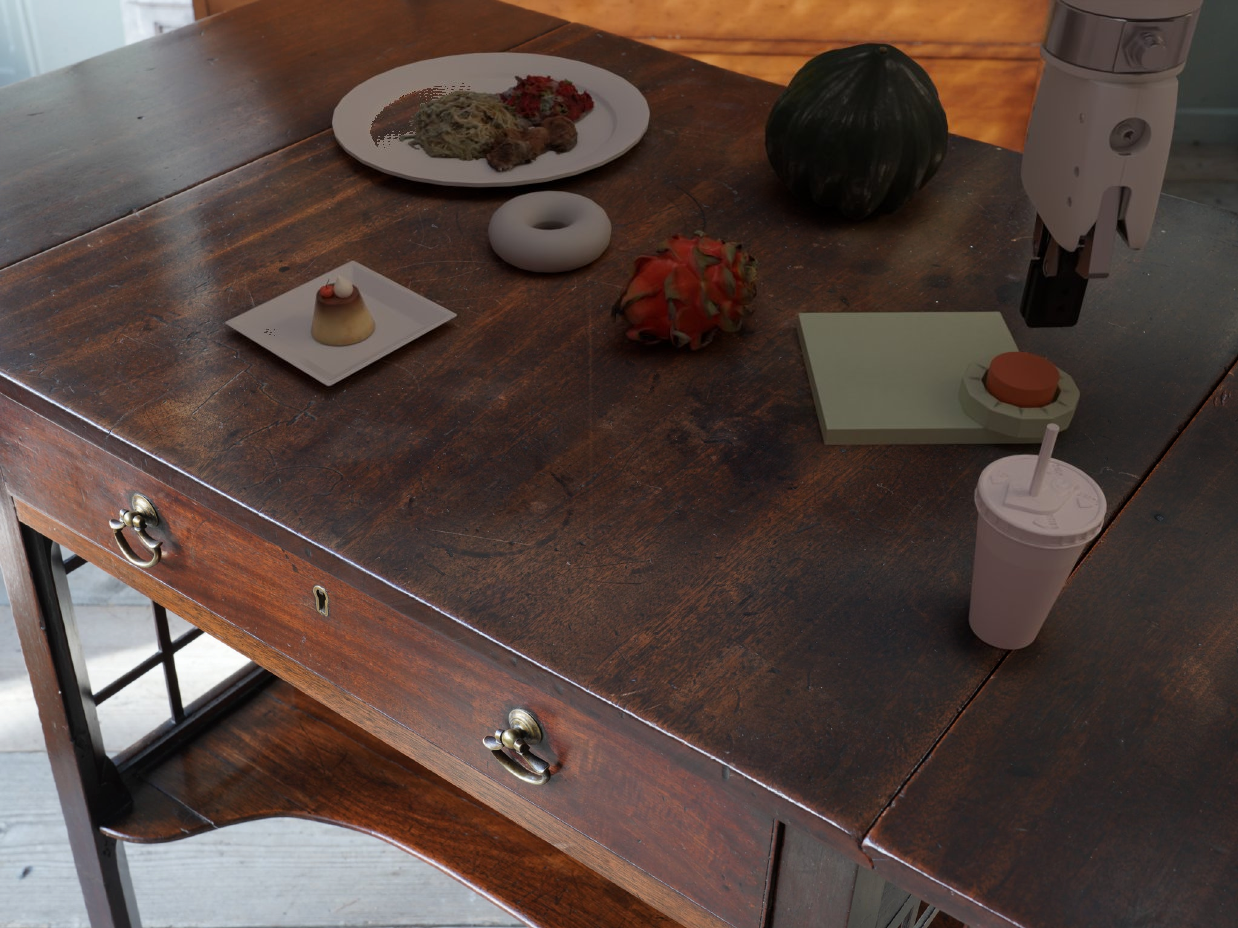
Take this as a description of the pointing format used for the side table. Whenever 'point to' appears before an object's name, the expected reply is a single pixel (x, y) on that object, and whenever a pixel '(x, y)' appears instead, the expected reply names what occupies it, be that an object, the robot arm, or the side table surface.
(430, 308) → the dessert
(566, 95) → the plated food
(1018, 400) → the button
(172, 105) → the side table surface
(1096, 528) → the smoothie
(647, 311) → the dragon fruit
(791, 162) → the squash
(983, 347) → the scale
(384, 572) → the side table surface
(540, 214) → the donut
